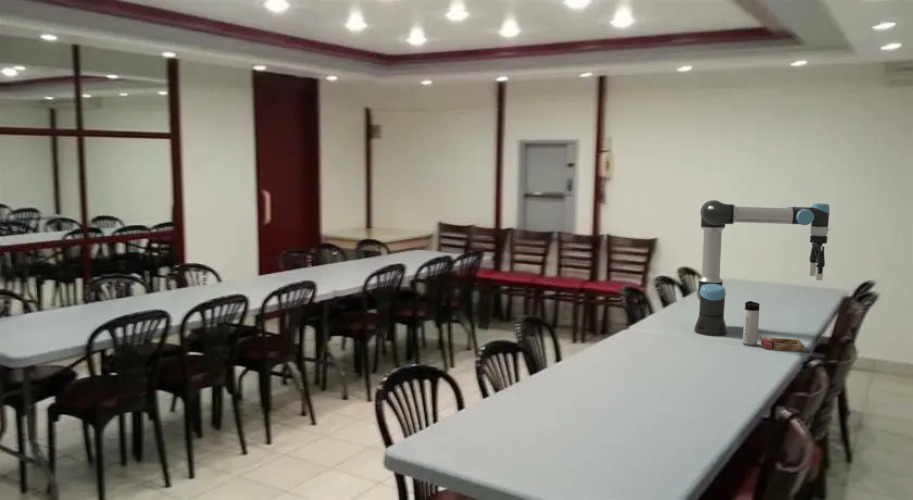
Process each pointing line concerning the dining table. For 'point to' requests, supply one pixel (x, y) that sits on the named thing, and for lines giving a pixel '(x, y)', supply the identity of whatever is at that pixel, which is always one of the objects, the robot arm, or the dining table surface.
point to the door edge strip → (766, 343)
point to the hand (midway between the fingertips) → (815, 278)
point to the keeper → (787, 345)
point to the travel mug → (751, 323)
